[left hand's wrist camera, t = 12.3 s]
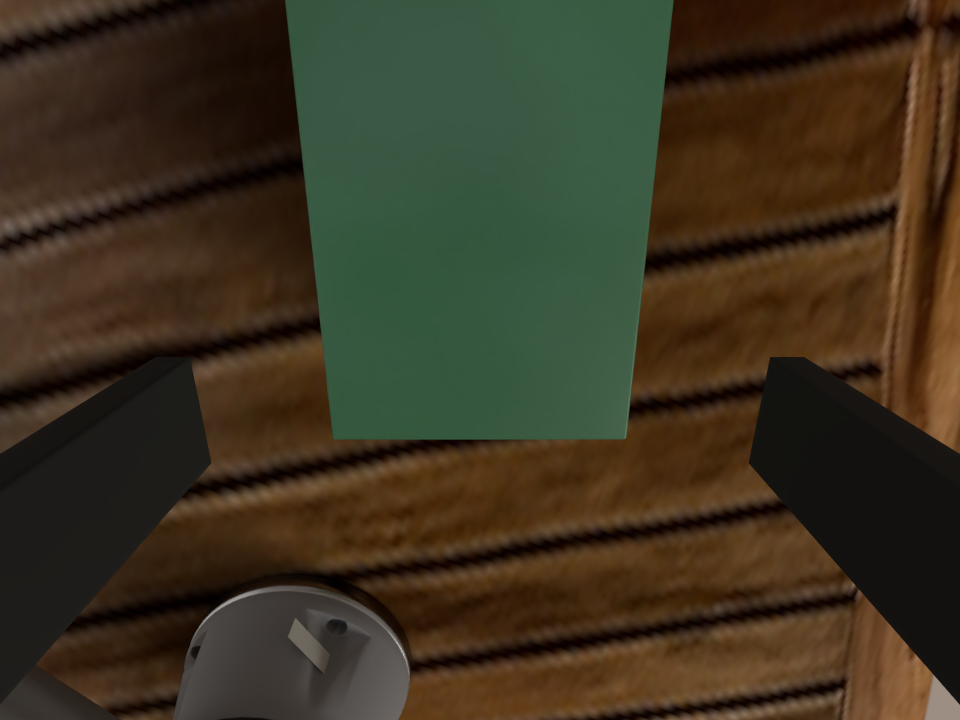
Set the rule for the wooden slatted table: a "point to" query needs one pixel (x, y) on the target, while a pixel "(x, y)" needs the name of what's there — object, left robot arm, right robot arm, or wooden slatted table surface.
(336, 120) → the cabinet
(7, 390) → the wooden slatted table surface
